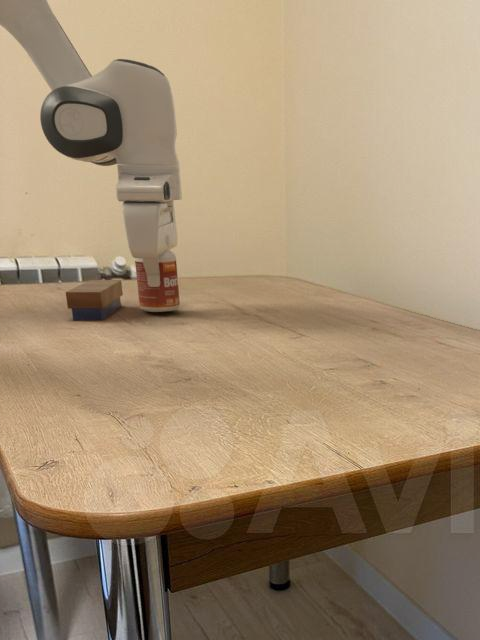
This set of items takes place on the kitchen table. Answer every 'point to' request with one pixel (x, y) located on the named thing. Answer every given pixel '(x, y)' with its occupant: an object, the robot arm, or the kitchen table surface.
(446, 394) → the kitchen table surface
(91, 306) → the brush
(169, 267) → the pill bottle
